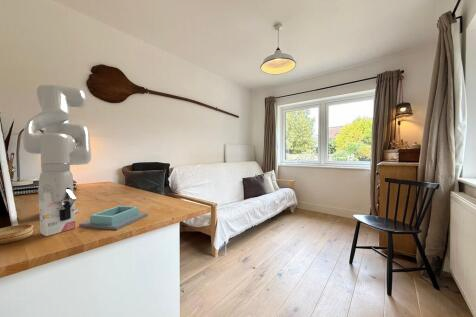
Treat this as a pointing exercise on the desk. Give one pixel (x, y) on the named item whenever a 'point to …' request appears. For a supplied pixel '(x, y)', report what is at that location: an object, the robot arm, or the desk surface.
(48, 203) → the ink cartridge box
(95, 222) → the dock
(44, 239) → the desk surface
